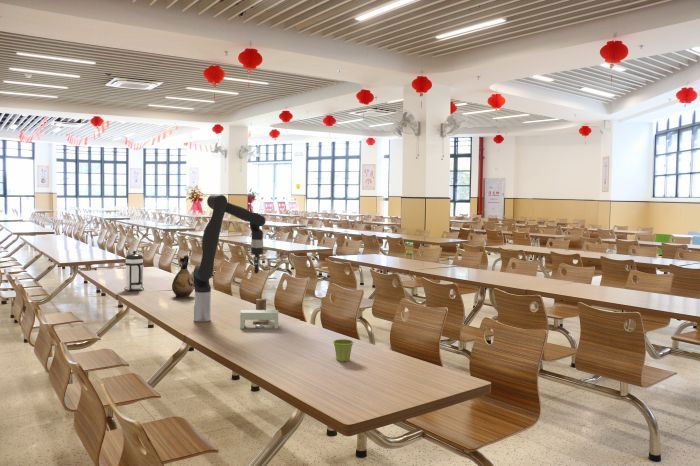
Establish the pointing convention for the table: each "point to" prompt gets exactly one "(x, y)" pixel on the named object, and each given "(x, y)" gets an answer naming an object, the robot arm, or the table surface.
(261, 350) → the table surface
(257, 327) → the disc
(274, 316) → the pale green bench
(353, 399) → the table surface
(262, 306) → the brown wooden block
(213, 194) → the robot arm
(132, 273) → the coffee press
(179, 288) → the ceramic jug
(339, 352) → the plant pot
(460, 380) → the table surface
